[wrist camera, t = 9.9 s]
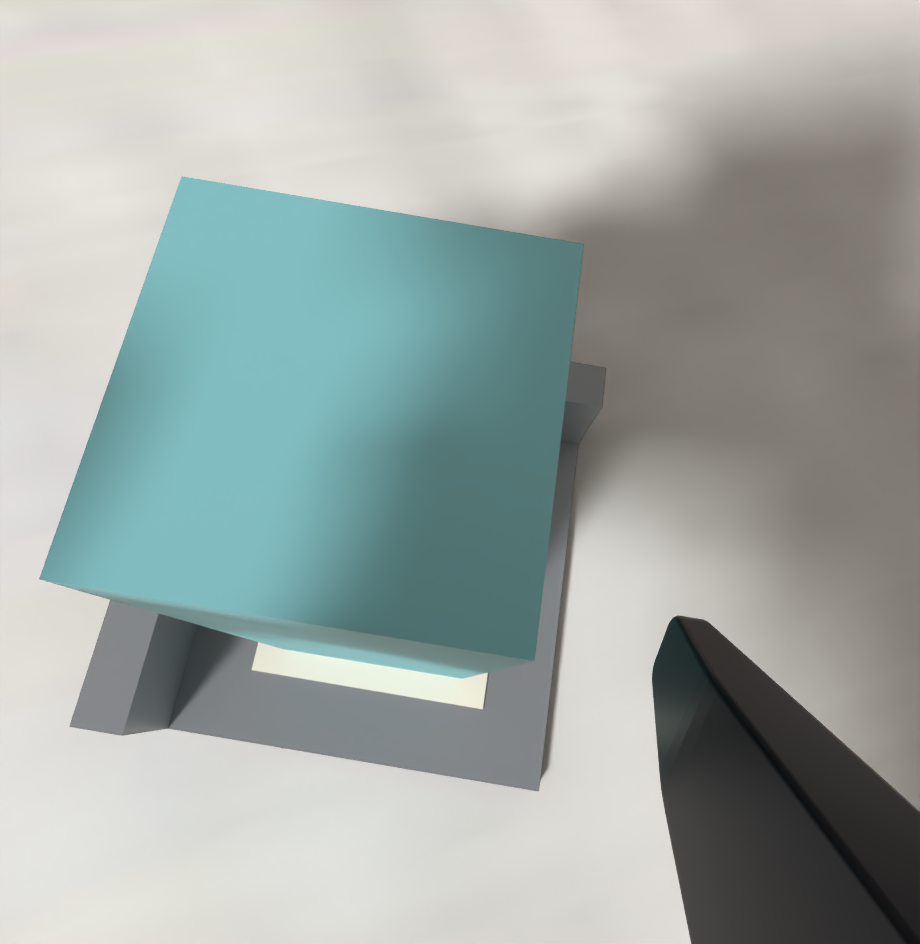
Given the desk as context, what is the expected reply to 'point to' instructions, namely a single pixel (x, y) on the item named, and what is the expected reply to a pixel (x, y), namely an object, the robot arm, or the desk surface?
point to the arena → (343, 676)
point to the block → (332, 433)
